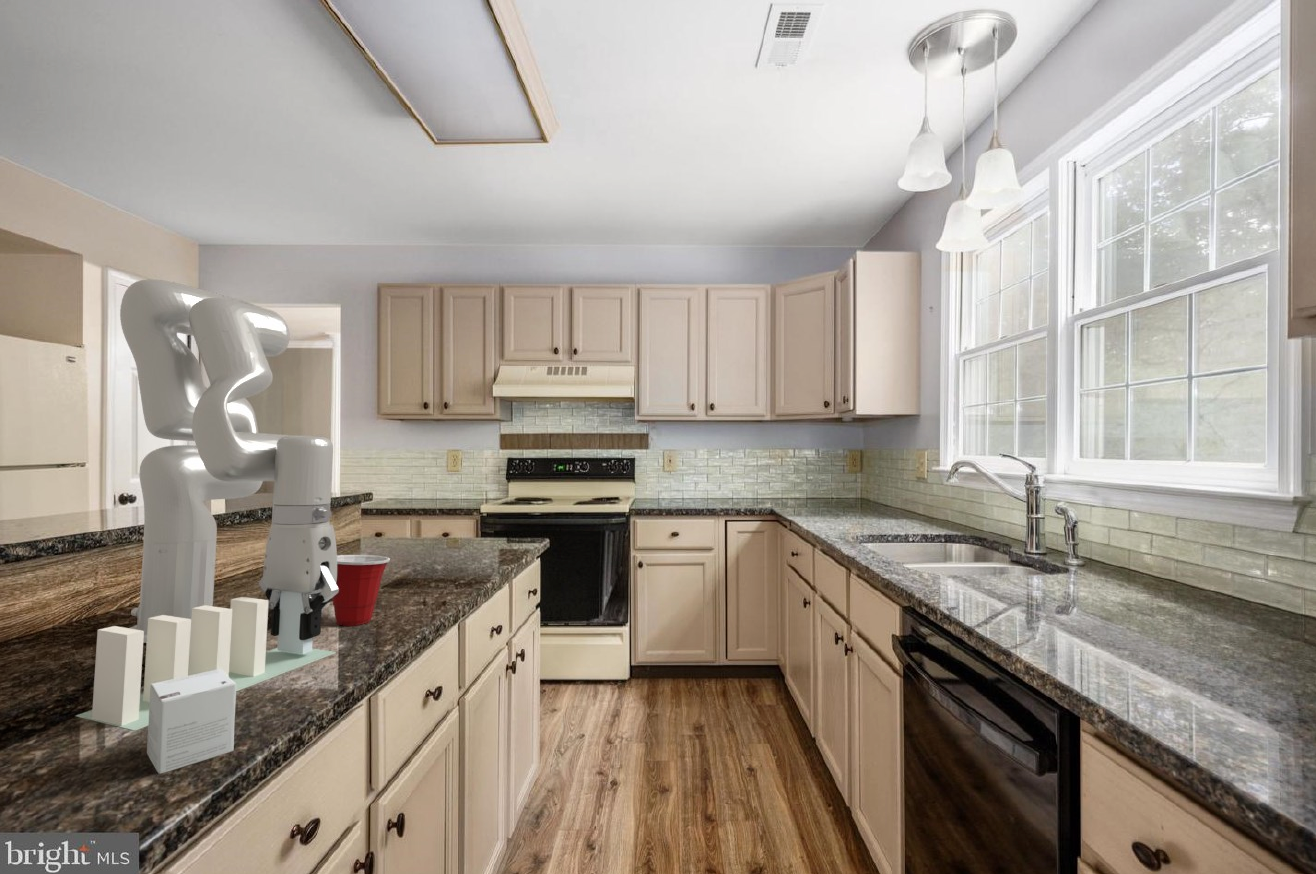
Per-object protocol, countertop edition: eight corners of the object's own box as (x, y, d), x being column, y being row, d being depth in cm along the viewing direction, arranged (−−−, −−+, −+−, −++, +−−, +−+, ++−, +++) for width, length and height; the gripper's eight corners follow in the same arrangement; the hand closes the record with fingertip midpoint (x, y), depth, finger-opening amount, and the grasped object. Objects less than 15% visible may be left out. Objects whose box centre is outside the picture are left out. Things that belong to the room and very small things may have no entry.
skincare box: (218, 734, 62) (222, 666, 62) (234, 754, 58) (238, 681, 58) (144, 755, 57) (149, 682, 58) (156, 778, 53) (161, 700, 54)
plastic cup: (399, 619, 106) (402, 555, 106) (341, 634, 96) (345, 564, 97) (367, 610, 111) (370, 549, 112) (309, 622, 102) (313, 556, 103)
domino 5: (277, 650, 85) (280, 583, 86) (287, 646, 87) (290, 581, 87) (302, 654, 84) (305, 587, 84) (312, 650, 85) (315, 584, 86)
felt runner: (75, 718, 64) (75, 715, 64) (287, 646, 90) (287, 644, 90) (134, 733, 62) (134, 730, 62) (336, 654, 87) (336, 652, 87)
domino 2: (143, 700, 69) (148, 618, 69) (158, 695, 70) (162, 614, 71) (171, 707, 67) (176, 622, 68) (186, 701, 69) (191, 619, 69)
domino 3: (187, 685, 73) (192, 608, 74) (200, 680, 75) (205, 605, 75) (215, 690, 72) (219, 612, 72) (228, 686, 74) (232, 609, 74)
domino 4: (226, 671, 78) (230, 599, 79) (238, 667, 80) (242, 596, 80) (253, 676, 77) (257, 603, 77) (264, 672, 78) (268, 600, 79)
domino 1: (91, 718, 64) (97, 629, 64) (109, 712, 65) (114, 625, 66) (121, 725, 62) (127, 635, 63) (138, 719, 64) (143, 631, 64)
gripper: (365, 516, 87) (359, 635, 87) (282, 511, 92) (276, 622, 92) (324, 521, 80) (317, 650, 80) (236, 515, 85) (229, 636, 84)
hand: (295, 634), depth 86 cm, fingers closed on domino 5, 4 cm apart
